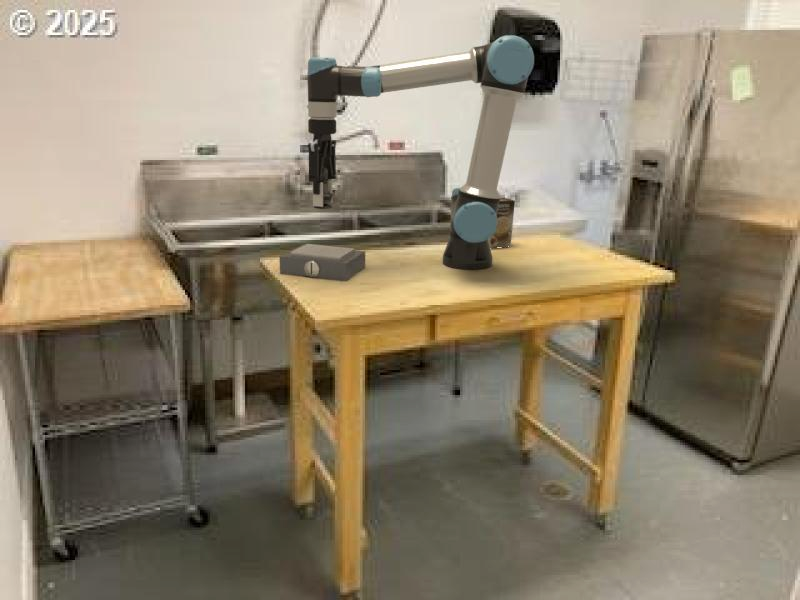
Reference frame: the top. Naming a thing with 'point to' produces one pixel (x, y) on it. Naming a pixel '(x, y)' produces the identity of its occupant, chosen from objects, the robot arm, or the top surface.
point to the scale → (323, 262)
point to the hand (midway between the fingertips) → (322, 204)
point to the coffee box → (503, 224)
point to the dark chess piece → (325, 191)
